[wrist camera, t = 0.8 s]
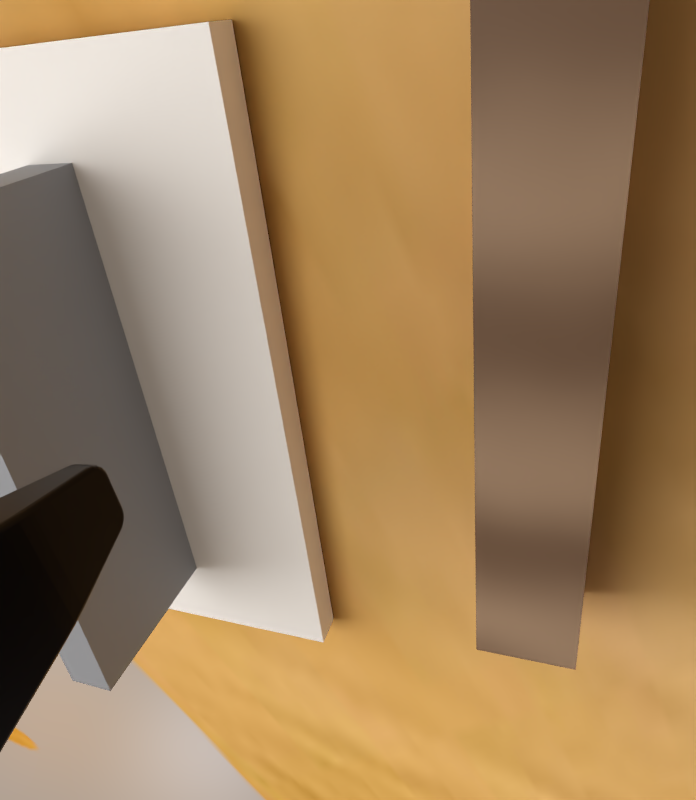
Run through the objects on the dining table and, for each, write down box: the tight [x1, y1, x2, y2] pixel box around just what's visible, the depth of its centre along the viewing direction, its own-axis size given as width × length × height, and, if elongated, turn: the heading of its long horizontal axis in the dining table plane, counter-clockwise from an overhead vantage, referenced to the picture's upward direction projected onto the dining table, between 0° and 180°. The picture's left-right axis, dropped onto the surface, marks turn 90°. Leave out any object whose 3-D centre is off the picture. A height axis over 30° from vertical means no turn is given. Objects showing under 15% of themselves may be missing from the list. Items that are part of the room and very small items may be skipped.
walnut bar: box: [470, 0, 650, 670], centre depth 16 cm, size 22×3×4 cm, turn 7°
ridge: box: [0, 19, 333, 691], centre depth 21 cm, size 22×12×7 cm, turn 6°
